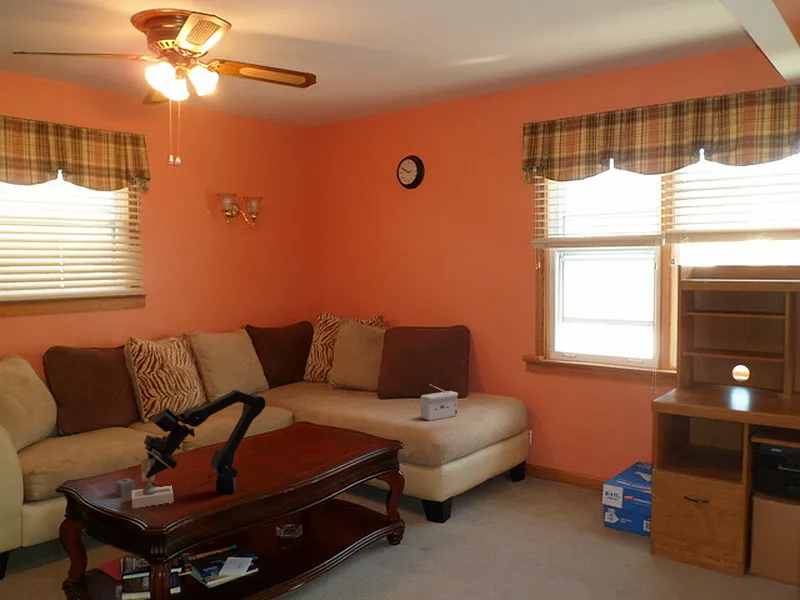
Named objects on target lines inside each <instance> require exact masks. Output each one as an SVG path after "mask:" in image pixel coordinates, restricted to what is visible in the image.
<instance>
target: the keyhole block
mask: <svg viewBox="0 0 800 600" xmlns="http://www.w3.org/2000/svg"><path fill="white" fill-rule="evenodd" d="M172 502H174V491H173V489H172V485H171V486H163V487H160V486H156V487H155V493H154V494H152V495H143V488H141V489H135V490H133V491H132V494H131V508H132V510H133V509H140V507H141V508H146V506H148V507H152V506H151V505H155V506H160V505H159V504H162V505H165V504H164V503H169V504H173V503H172Z"/></svg>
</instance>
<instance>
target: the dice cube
mask: <svg viewBox="0 0 800 600" xmlns="http://www.w3.org/2000/svg"><path fill="white" fill-rule="evenodd" d="M133 490H136V485H135V480H134V479H131V478H129V477H127V478H123V479H119V480H116V481H115V494H116V495H117V496H118V497H121V498H124V497H129V496H130V495H131V496H132V491H133Z"/></svg>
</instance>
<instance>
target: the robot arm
mask: <svg viewBox="0 0 800 600" xmlns="http://www.w3.org/2000/svg"><path fill="white" fill-rule="evenodd" d="M236 403H242V404H243V405H242V412H241V415H240V418H239V419H238V421H237V422H236V425H235V426H234V428H233V430H232V432H231V434H230V435H229V437H228V439H227V441H226V442H225V445H224V446H223V447H222V448H221V449H220V450H218V449H216V450H215V451H214V453H213V455H212V457H210V460H211V461H210V467H211V469H212V470H213V471H215V474H216V475H217V476H216V478H217V480H216V481H215V490H216V492H215V494H216V495H220V494H221V495H233V494H234V493H235V491H237V489H238V486H236V485H237V484H236V483H237V479H236V478H237V477H238V472H239V471H238V470H237V469H235V467H233V464H234V462H235V454H236V452H237V449H238V448H239V447H240V444H241V443H242V440H244V437H245V436H246V433H247V432H248V430H249V428H250V426H251V424H252V423H253V421H254V420H255V419H256V418H257V417H258V416H260V415H261V413H262V412H263V410H264V409H265V408H266V405H267V402H266V399H265V398H264V397H263V396H260V395H258V394H255V393H251V394H248V393H247V394H246V393H244V392H243V391H241V390H238V389H234V390H232V391H230V392H228V393H226V394H224V395H223V396H220V397H217V398H216V399H213V400H212V401H210V402H208V403H206V404H204V405H198V406H193V407H190V408H187V409H185V410H184V411H183V412H182V413H177V414H174V413H173V412H172V411H171V410H170V409H169V408H167V407H165V408H164V409H163V410H161V411H160V412H158V413H157V414H156V415H155V416H154V418H153V420H152V423H153V424H154V425H155V426H157V427H158V428H159V429H161V430H162V431H163V432H164V433H167V436H166V435H163V436H162V437H160V436H159V437H158V436H157V435H156V436H153V435H149V434H146V436H145V439H144V441H143V444H144V445H145V447H144V449H145V450H146V455H147V459H154V464H153V465H152V467H151V468H150V470H149V471H148V473H147V475H146V478H150V477H151V476H153V475H156V474H159V473H162V472H164V471H165V470H168V469H170V468H171V469H172V470H173V469H176V467H177V466H178V461H177V460H176V459H175V458H174V456H173V454H174V453H175V452H176V451H177V450H178V451H179V450H180V449H181V445H182V443H183V442H184V441H185V440H186V439H187V437H188V436H191V437H192V438H193V437H194V438H195V436H196V435H195V429H194V428H197V427H199V426H200V425H202V424H203V423H205V422H206V421H207V420H208V419H209V417H211V416H213V415H214V414H216V413H218V412H221V411H222V410H224V409H226V408H228V407H230V406H232V405H234V404H236ZM179 422H180V423H179ZM141 474H142V471H141Z"/></svg>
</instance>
